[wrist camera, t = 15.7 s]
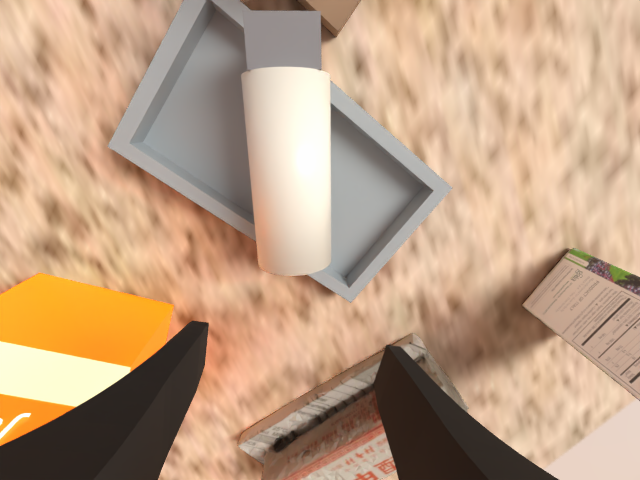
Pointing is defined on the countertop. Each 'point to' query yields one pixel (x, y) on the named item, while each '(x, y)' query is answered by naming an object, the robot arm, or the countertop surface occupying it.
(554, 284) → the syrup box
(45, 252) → the countertop surface
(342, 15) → the board
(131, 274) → the countertop surface
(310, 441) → the packaged product
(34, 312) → the orange juice
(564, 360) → the countertop surface
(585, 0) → the countertop surface
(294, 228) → the white cylinder grey cap
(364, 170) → the tray
